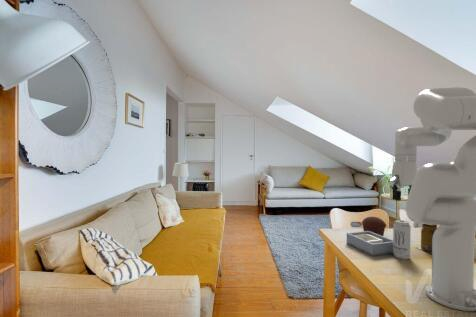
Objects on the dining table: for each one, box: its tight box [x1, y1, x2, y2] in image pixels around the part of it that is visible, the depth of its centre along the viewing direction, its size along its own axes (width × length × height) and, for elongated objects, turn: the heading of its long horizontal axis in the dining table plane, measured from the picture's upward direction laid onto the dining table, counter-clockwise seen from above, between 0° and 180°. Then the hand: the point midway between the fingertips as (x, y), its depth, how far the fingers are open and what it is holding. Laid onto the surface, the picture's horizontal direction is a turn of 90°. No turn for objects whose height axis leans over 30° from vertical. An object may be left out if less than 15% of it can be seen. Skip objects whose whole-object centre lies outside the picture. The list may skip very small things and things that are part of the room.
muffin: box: [361, 216, 387, 237], centre depth 132 cm, size 12×11×10 cm
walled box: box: [346, 230, 394, 257], centre depth 116 cm, size 16×13×5 cm
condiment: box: [416, 224, 438, 255], centre depth 113 cm, size 7×8×12 cm
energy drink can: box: [392, 219, 412, 260], centre depth 105 cm, size 6×6×15 cm
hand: (404, 199), depth 106 cm, fingers open, 9 cm apart
